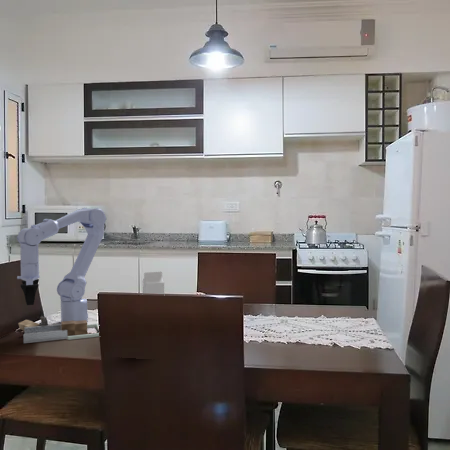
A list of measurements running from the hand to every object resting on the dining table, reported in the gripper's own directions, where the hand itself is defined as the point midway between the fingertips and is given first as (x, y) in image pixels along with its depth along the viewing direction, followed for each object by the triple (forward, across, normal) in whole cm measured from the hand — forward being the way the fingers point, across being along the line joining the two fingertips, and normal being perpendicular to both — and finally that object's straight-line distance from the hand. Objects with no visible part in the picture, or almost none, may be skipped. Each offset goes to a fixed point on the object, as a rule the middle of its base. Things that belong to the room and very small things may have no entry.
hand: (30, 302), depth 157 cm
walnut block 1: (+10, +10, +12) cm, 18 cm away
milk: (+10, +23, +38) cm, 45 cm away
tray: (+10, +10, +17) cm, 22 cm away
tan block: (+8, +3, +3) cm, 9 cm away
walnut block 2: (+10, +10, +16) cm, 21 cm away
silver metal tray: (+10, +10, +5) cm, 15 cm away
